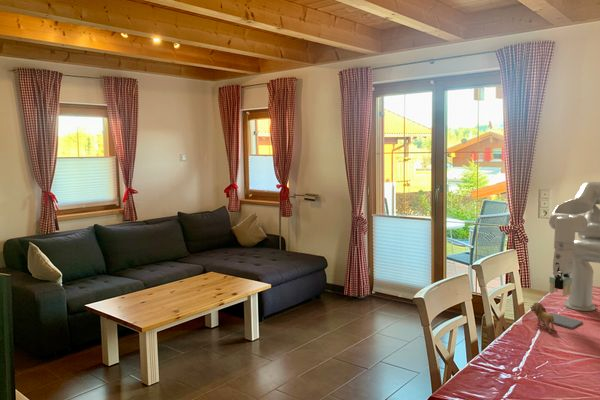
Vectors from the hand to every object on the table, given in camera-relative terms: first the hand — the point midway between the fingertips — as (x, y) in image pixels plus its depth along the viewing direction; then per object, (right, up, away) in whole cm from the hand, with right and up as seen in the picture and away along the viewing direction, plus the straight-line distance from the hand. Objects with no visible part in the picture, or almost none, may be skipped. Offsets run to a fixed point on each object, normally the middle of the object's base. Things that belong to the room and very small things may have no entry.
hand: (561, 287), depth 205 cm
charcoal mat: (0, -15, +2) cm, 15 cm away
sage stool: (0, -3, +1) cm, 3 cm away
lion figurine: (-10, -16, -4) cm, 19 cm away
